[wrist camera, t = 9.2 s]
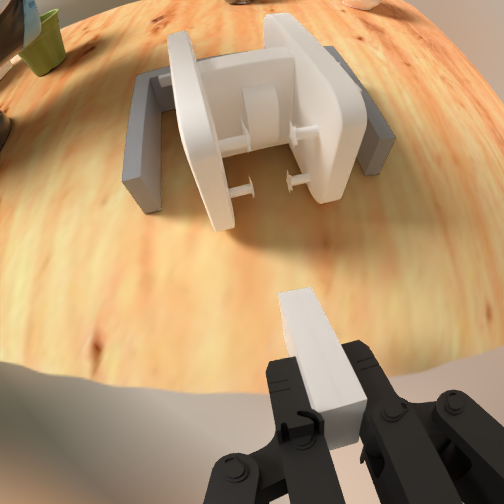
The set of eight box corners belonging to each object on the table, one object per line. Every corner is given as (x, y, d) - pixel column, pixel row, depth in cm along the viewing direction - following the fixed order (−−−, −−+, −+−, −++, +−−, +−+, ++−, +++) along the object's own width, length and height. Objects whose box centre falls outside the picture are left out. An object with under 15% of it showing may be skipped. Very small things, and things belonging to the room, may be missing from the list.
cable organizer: (189, 118, 29) (163, 24, 18) (286, 97, 29) (288, 3, 19) (217, 244, 23) (177, 142, 12) (344, 212, 24) (386, 104, 13)
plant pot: (70, 66, 38) (47, 21, 27) (21, 93, 37) (-4, 54, 27) (82, 41, 42) (65, 1, 32) (37, 64, 42) (18, 29, 31)
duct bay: (149, 107, 30) (136, 74, 25) (328, 79, 30) (333, 46, 26) (144, 213, 25) (121, 181, 20) (378, 174, 25) (395, 138, 20)
